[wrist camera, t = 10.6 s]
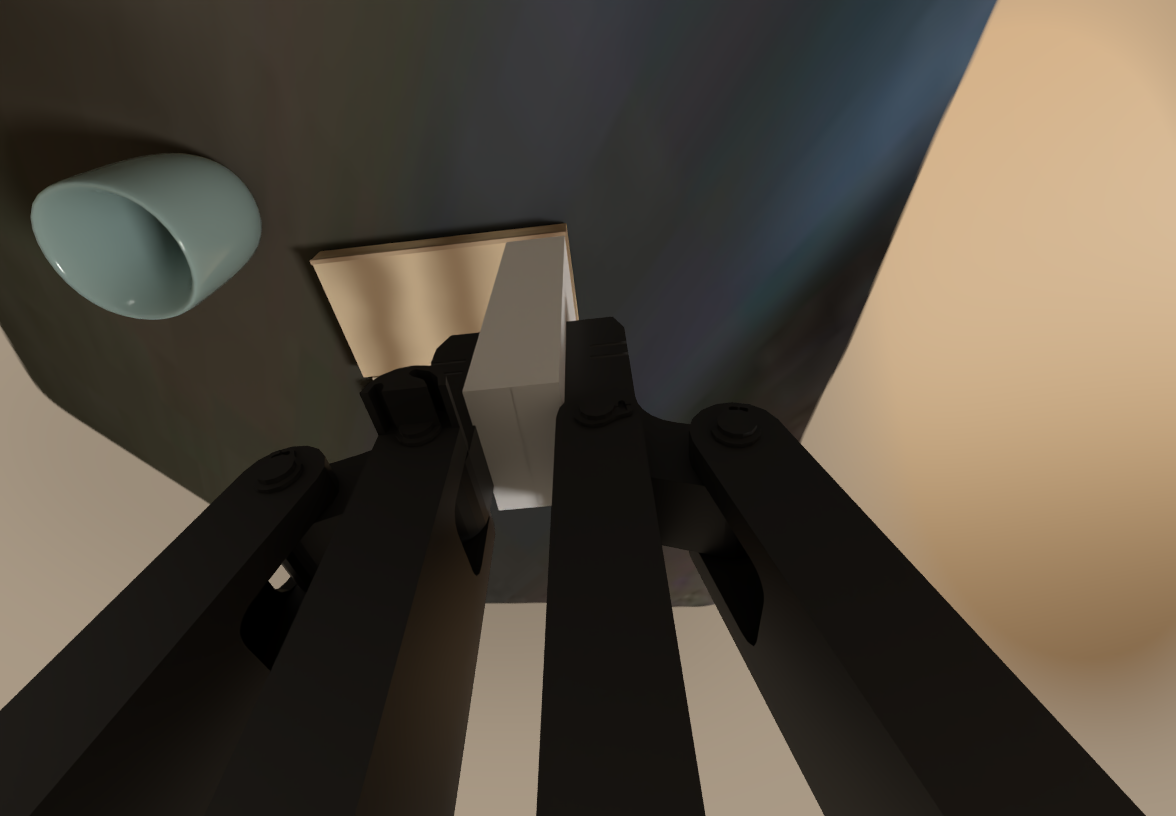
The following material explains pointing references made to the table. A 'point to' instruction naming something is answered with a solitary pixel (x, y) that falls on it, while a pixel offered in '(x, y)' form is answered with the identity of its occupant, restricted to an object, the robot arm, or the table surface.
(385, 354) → the loose plank
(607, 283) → the table surface
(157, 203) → the cup
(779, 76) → the table surface
